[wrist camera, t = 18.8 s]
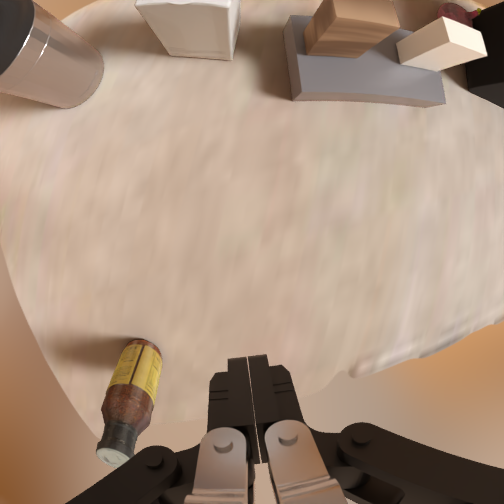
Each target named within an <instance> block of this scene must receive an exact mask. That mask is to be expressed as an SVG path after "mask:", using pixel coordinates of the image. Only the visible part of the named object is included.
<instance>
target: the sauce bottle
mask: <svg viewBox="0 0 504 504" xmlns="http://www.w3.org/2000/svg"><path fill="white" fill-rule="evenodd" d="M161 369H162V356H161V353H160V351H159V349H158V347H156V346H155V345H154V344H152V343H150V342H148V341H146V340H134V341H131V342H129V343H128V344H127V346H126V347H125V349H124V350H123V352H122V354H121V356H120V359H119V361H118V364H117V366H116V369H115V371H114V373H113V376H112V378H111V381H110V384H109V386H108V389H107V391H106V397H105V399H104V402H103V405H102V407H101V411H102V414H103V419H104V423H105V427H104V433H103V436H102V439H101V441H100V442H98V444H97V449H96V454H97V456H98V458H99V459H100V460H101V461H103V462H104V463H106V464H108V465H110V466H112V467H114V468H118V467H120V466H121V465H122V464H124V463H125V462H126V461H128V460H129V459H130V458H132V457H133V456H134V448H135V443H136V441H137V437H138V436H139V435H140V433H141V432H142V431H143V430H145V429H146V428H147V427H148V426H149V424H150V420H151V414H152V411H153V408H154V403H155V398H156V393H157V388H158V383H159V378H160V374H161Z"/></svg>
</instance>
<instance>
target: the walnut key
mask: <svg viewBox="0 0 504 504" xmlns="http://www.w3.org/2000/svg"><path fill="white" fill-rule="evenodd" d="M399 28H400V24H399V21H398V17H397V14H396V10H395V7H394V4H393V1H390V0H323V2H322V3H321V5H320V6H319V8H318V9H317V11H316V13H315V14H314V16H313V17H312V19H311V21H310V22H309V24H308V25H307V27H306V29H305V30H304V32H303V36H304V42H305V48H306V55H310V56H333V57H347V58H358V57H360V56H361V55H362V54H364V53H365V52H366V51H368V50H369V49H371V48H372V47H373V46H375V45H376V44H378V43H379V42H380V41H382V40H383V39H385V38H386V37H387V36H389V35H390V34H392V33H393V32H395V31H396V30H398V29H399Z"/></svg>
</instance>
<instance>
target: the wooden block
mask: <svg viewBox="0 0 504 504" xmlns="http://www.w3.org/2000/svg"><path fill="white" fill-rule="evenodd" d="M396 46H397V50H398V55H399V60H400V64H401V65H407V66H412V67H417V68H422V69H427V70H431V71H436V72H437V71H440V70H443V69H446V68H449V67H452V66H455V65H459V64H462V63H465V62H468V61H472V60H475V59H478V58H482V57H485V56H487V52H486V49H485V45H484V41H483V38H482V35H481V32H479V31H477V30H475V29H473V28H470V27H468V26H466V25H463V24H461V23H459V22H456V21H453V20H451V19H448V18H445V17H443V16H442V17H440V18H439V19H437V20H435V21H433V22H431V23H430V24H428V25H426V26H424V27H423V28H421V29H419V30H417V31H416V32H414V33H412V34H411V35H409V36H407V37H406V38H404V39H402V40H401V41H399V42H397V43H396Z"/></svg>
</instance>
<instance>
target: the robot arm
mask: <svg viewBox="0 0 504 504" xmlns="http://www.w3.org/2000/svg"><path fill="white" fill-rule="evenodd" d="M103 71H104V62H103V58H102V56H101V54H100V53H99V52H98V51H97V50H96V49H95V48H93V47H92V46H91V45H90V44H89V43H87V42H86V41H85V40H84V39H83V38H81V37H80V36H79V35H78V34H76V33H75V32H74V31H72V30H71V29H70V28H69V27H67V26H66V25H65V24H63V23H62V22H61V21H59V20H58V19H57V18H55V17H54V16H53V15H52V14H50V13H49V12H47V11H46V10H45V9H43V8H42V7H40V6H39V5H38V4H36V3H35V2H34V1H32V0H0V92H1V93H6V94H10V95H14V96H19V97H23V98H27V99H31V100H34V101H38V102H42V103H46V104H49V105H53V106H57V107H60V108H72V107H76V106H78V105H80V104H82V103H83V102H85V101H86V100H87V99H88V98H89V97H90V96H91V95H92V94H93V93H94V92H95V90H96V89H97V87H98V86H99V84H100V82H101V79H102V76H103ZM248 362H249V370H250V378H249V372H248V365H247V358H246V357H240V358H231V359H228V372H218V373H215V375H214V376H213V378H212V379H211V381H210V387H209V405H208V425H207V434H206V435H204V437H203V438H202V440H201V443H200V444H198V445H196V446H195V447H193V448H190V449H187V450H183V451H180V452H176V453H174V452H173V451H172V450H171V449H169V448H167V447H164V446H150V447H146V448H144V449H143V450H141V451H140V452H138V453H137V454H136V455H134V456H133V457H132V458H130V459H129V460H128V461H126V462H125V463H124V464H122V465H121V466H120V467H118V468H117V469H116V470H114V471H113V472H111V473H110V474H108V475H107V476H106V477H104V478H103V479H102V480H100V481H99V482H97V483H96V484H94V485H93V486H91V487H90V488H88V489H87V490H85V491H84V492H82V493H81V494H79V495H78V496H76V497H75V498H73V499H72V500H70V501H69V502H67V503H65V504H255V469H254V464H260V458H259V450H258V442H257V435H258V441H259V447H260V453H261V460H262V463H268V468H269V474H270V481H271V485H272V489H273V493H274V496H275V500H276V504H348V503H347V500H346V498H348V499H350V500H352V501H354V502H356V503H358V504H504V469H501V468H497V467H493V466H489V465H486V464H482V463H478V462H475V461H472V460H468V459H465V458H462V457H458V456H455V455H452V454H449V453H446V452H443V451H440V450H437V449H434V448H432V447H429V446H426V445H423V444H420V443H418V442H415V441H412V440H410V439H407V438H405V437H402V436H400V435H397V434H394V433H392V432H390V431H387V430H385V429H382V428H380V427H378V426H375V425H373V424H370V423H363V422H361V423H354V424H351V425H349V426H347V427H345V428H344V429H343V430H342V431H341V433H324V432H318V431H316V430H314V429H312V428H310V427H309V426H307V424H306V423H305V422H304V419H303V416H302V413H301V410H300V406H299V403H298V399H297V396H296V392H295V389H294V386H293V383H292V379H291V375H290V372H289V371H288V370H287V369H286V368H285V367H284V366H282V365H277V366H270V367H269V364H268V359H267V355H266V354H264V355H256V356H248ZM250 379H251V385H250ZM251 388H252V393H251ZM252 396H253V401H252ZM253 405H254V409H253ZM254 413H255V417H254ZM255 421H256V426H255ZM256 428H257V434H256ZM345 497H346V498H345Z"/></svg>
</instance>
